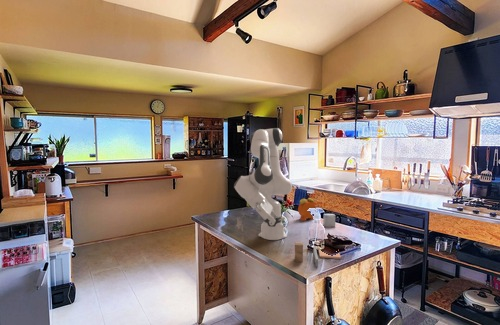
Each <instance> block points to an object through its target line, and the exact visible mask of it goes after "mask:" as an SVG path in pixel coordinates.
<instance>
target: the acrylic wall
mask: <svg viewBox="0 0 500 325" xmlns="http://www.w3.org/2000/svg"><path fill="white" fill-rule="evenodd" d="M317 252H318V250H317V246H316V245H313V257H314V258H313V259H314V266H315V267H316V268H318V267H319V257H318V253H317Z"/></svg>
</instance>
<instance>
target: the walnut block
mask: <svg viewBox="0 0 500 325" xmlns="http://www.w3.org/2000/svg"><path fill="white" fill-rule="evenodd" d="M303 258H304V243H303V242H301V241H300V242H299V241H297V242H296V241H295V242H294V262H298V263H303V261H304V260H303Z"/></svg>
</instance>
